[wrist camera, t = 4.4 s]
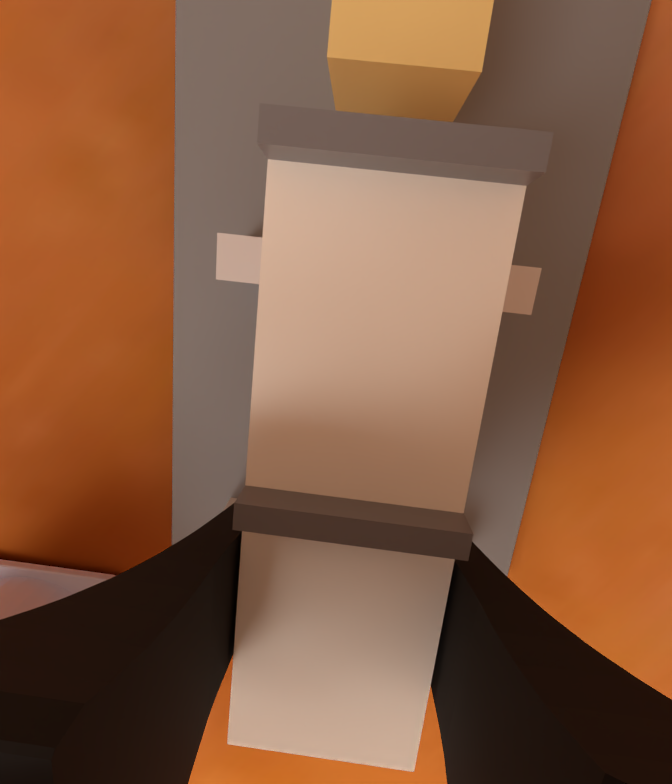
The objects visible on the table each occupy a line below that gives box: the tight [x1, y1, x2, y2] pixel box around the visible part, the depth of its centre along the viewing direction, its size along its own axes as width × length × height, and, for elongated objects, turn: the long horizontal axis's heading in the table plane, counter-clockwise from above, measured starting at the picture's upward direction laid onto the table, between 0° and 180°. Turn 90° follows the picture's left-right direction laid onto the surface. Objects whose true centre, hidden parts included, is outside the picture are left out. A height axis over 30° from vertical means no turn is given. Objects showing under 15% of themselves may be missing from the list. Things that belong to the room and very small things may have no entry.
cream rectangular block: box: [227, 103, 554, 772], centre depth 10 cm, size 12×4×5 cm, turn 174°
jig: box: [172, 0, 652, 576], centre depth 14 cm, size 20×13×4 cm, turn 174°
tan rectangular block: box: [327, 0, 494, 122], centre depth 10 cm, size 4×3×5 cm
